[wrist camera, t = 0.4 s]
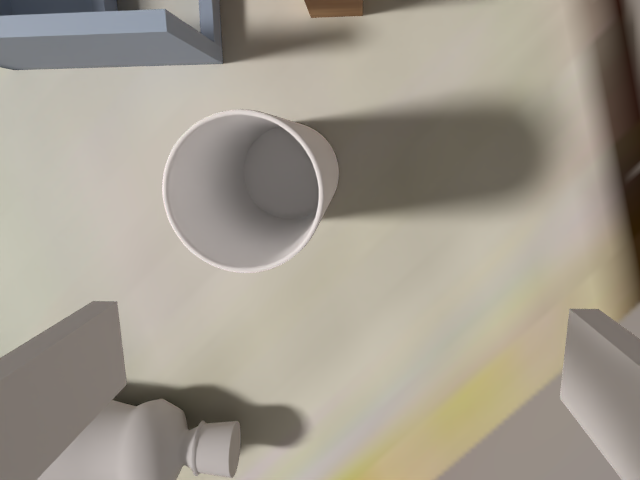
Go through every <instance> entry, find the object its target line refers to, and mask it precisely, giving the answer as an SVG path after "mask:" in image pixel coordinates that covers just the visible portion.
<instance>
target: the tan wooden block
mask: <svg viewBox="0 0 640 480" xmlns="http://www.w3.org/2000/svg"><path fill="white" fill-rule="evenodd" d="M304 1H305V3H306V6H307V8H308V11H309V14H310V16H311V18H317V17H343V16H363V0H304Z"/></svg>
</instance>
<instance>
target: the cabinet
mask: <svg viewBox="0 0 640 480" xmlns="http://www.w3.org/2000/svg"><path fill="white" fill-rule="evenodd" d="M199 11H200V27H201V33H200V32H198V31H197V30H195V29H194V28H192V27H191V26H189V25H188V24H186V23H185V22H183V21H182V20H180V19H179V18H178V17H176V16H175V15H173V14H172V13H170V12H169V11H167V10H166V9H153V10H129V11H118V9H117V0H0V67H2V68H7V69H11V70H28V69H62V68H96V67H130V66H163V65H197V64H223V55H222V36H221V18H220V0H199Z"/></svg>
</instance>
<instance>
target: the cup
mask: <svg viewBox="0 0 640 480" xmlns="http://www.w3.org/2000/svg"><path fill="white" fill-rule="evenodd" d="M338 180H339V167H338V161H337V158H336V155H335V153H334V150H333V149H332V147H331V145H330V144H329V142H328V141H327V140H326V139H325V138H324V137H323V136H322V135H321V134H320V133H319V132H317V131H316V130H314V129H312V128H310V127H308V126H306V125H303V124H299V123H296V122H293V121H290V120H286V119H283V118H280V117H277V116H273V115H270V114H266V113H263V112H259V111H254V110H244V109H238V110H228V111H222V112H219V113H215V114H212V115H210V116H207V117H205V118H203V119H201V120H200V121H198V122H197V123H195V124H194V125H192V126H191V127H190V128H189V129H188V130H187V131H186V132H185V133H184V134H183V135H182V136H181V137H180V138H179V139H178V141H177V142H176V144H175V145H174V147H173V148H172V150H171V152H170V154H169V157H168V159H167V162H166V165H165V169H164V174H163V183H162V193H163V202H164V206H165V210H166V214H167V217H168V219H169V222H170V224H171V226H172V228H173V230H174V231H175V233H176V234H177V236H178V238H179V239H180V240H181V241H182V243H183V244H184V245H185V246H186V247H187V248H188V249H189V250H190V251H191V252H192V253H193V254H195V255H196V256H197V257H199V258H200V259H201V260H203V261H205V262H206V263H208V264H210V265H212V266H215V267H217V268H220V269H223V270H227V271H231V272H237V273H255V272H261V271H266V270H269V269H272V268H275V267H277V266H280V265H281V264H283V263H285V262H287V261H288V260H290V259H291V258H293V257H294V256H295V255H296V254H298V253H299V252H300V251H301V250H302V249H303V248H304V247H305V246H306V244H307V243H308V242H309V241H310V239H311V238H312V236H313V234H314V233H315V231H316V229H317V227H318V225H319V223H320V221H321V219H322V217H323V215H324V213H325V211H326V209H327V208H328V206H329V204H330V202H331V200H332V198H333V196H334V194H335V191H336V189H337V185H338Z"/></svg>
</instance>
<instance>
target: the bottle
mask: <svg viewBox="0 0 640 480" xmlns="http://www.w3.org/2000/svg"><path fill="white" fill-rule="evenodd" d="M240 445H241V429H240V424H239V422H238V421H230V422H217V423H206V422H205V421H204V420H203V421H201V422H200V423H199V425H198V426H197V427H195V428H193V429H191V430H188V426H187V420H186V417H185V414H184V411H182V410H181V409H180V408H178V407H176V406H175V405H173V404H171V403H170V402H168V401H166V400H164V399H158V400H152V401H147V402H145V403H142V404H140V405H138V406H133V405H129V404H125V403H122V402H118V401H114V400H112V401H111V402H110V403H109V404H108V405H107V406H106V407H105V408H104V409H103V410H102V411H101V412H100V413H99V414H98V415H97V416H96V417H95V419H94V420H93V421H92V422H91V423H90V424H89V425H88V426H87V427H86V428H85V429H84V430H83V431H82V432H81V433H80V434H79V435H78V436H77V438H76V439H75V440H74V441H73V442H72V443H71V444H70V445H69V446H68V447H67V448H66V449H65V450H64V451H63V452H62V453H61V454H60V456H59V457H58V458H57V459H56V460H55V461H54V462H53V463H52V464H51V465H50V466H49V467H48V468H47V469H46V470H45V471H44V472H43V474H42V475H41V476H40V477H39V478H38V479H37V480H176V479H177V477H178V475H179V473H180V471H181V469H182V466H184V465H186V466H188V467H189V468H191V469H192V471H193V474H194V475H195V476H197V475H198V474H200V473H204V474H210V475H217V476H223V477H229V478H233V477H234V475H235V473H236V470H237V466H238V461H239V455H240Z"/></svg>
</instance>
